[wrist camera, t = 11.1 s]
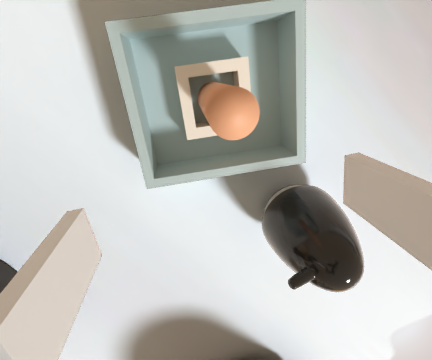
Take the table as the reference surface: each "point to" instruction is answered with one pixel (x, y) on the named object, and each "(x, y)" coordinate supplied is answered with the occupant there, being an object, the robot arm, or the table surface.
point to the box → (213, 72)
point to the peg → (229, 109)
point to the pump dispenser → (313, 238)
